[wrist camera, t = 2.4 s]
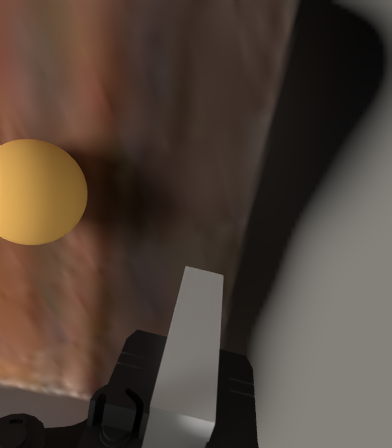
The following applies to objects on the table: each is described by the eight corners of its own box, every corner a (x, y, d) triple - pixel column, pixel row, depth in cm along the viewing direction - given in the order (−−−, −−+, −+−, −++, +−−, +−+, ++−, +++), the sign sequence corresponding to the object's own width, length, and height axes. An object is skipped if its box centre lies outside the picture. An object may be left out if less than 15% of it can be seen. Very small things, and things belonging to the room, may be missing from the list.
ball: (12, 121, 21) (-60, 137, 16) (107, 144, 21) (65, 167, 16) (11, 209, 23) (-53, 248, 18) (96, 230, 23) (56, 275, 18)
